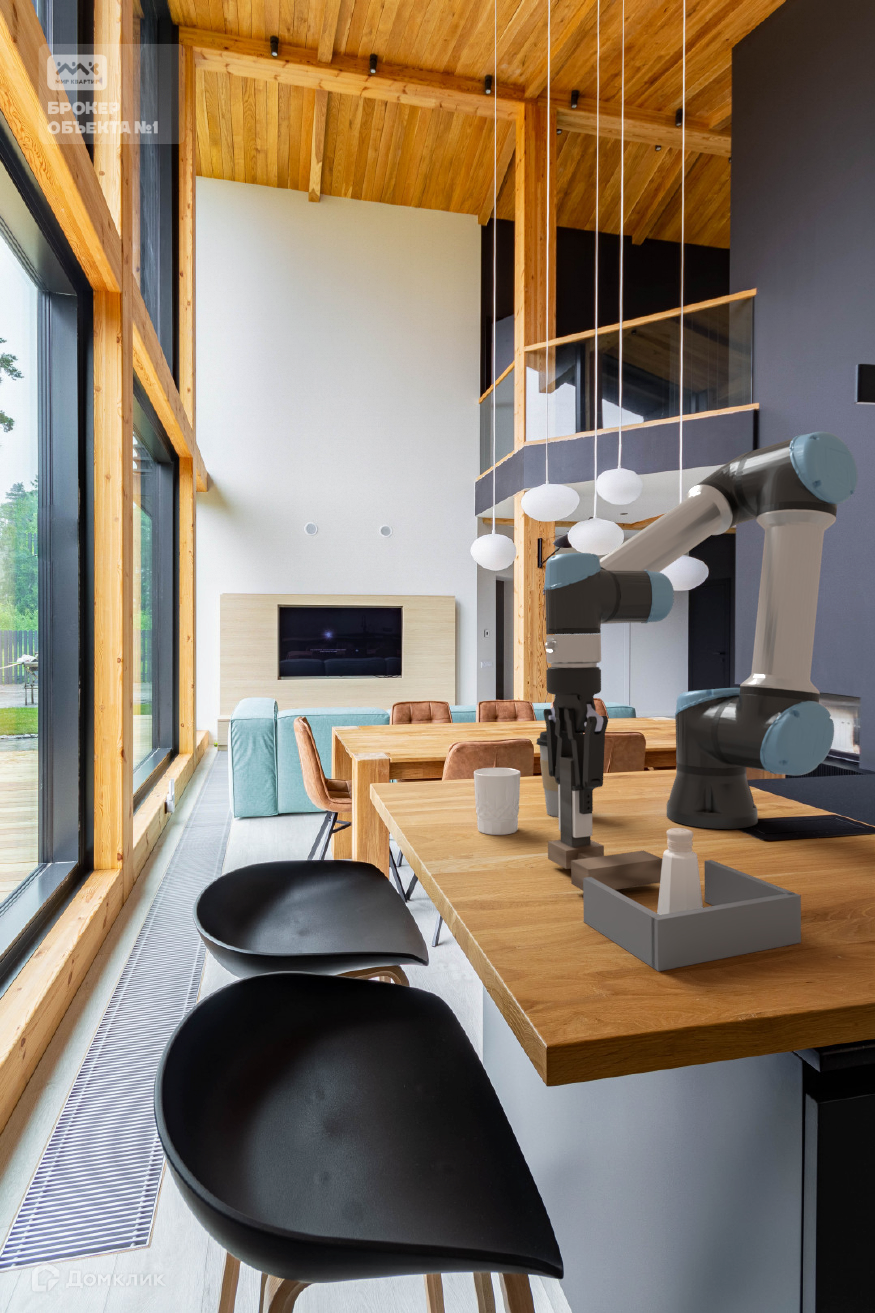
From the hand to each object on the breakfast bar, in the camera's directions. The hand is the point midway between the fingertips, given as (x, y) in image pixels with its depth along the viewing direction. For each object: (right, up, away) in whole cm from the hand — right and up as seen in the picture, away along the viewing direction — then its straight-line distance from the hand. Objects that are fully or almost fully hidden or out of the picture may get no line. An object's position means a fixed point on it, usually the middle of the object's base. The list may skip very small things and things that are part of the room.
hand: (575, 832), depth 102 cm
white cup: (-9, -5, +22) cm, 24 cm away
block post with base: (+2, -4, -4) cm, 6 cm away
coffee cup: (+4, -5, +33) cm, 33 cm away
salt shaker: (+8, -6, -22) cm, 24 cm away
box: (+8, -5, -22) cm, 24 cm away
